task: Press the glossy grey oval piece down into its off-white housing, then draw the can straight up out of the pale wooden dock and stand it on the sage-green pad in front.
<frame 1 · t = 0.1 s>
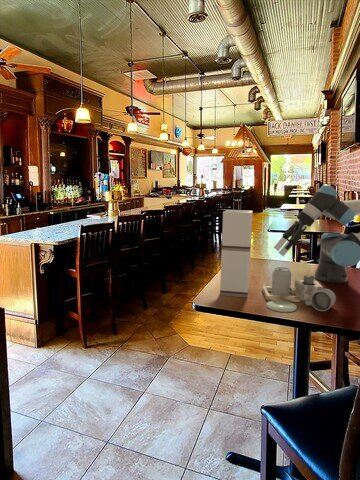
hand: (278, 251, 169), 15 cm above the table, tool tilted 35°, fingers open, 13 cm apart
can: (280, 296, 153), resting in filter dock
tall seamed white tower: (234, 292, 157), on the table
ceramic mug: (319, 308, 140), on the table
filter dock: (280, 296, 153), on the table
glossy grey oval piece: (308, 282, 151), point 7 cm above the table, slide at 0.0 cm
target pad: (281, 307, 140), on the table
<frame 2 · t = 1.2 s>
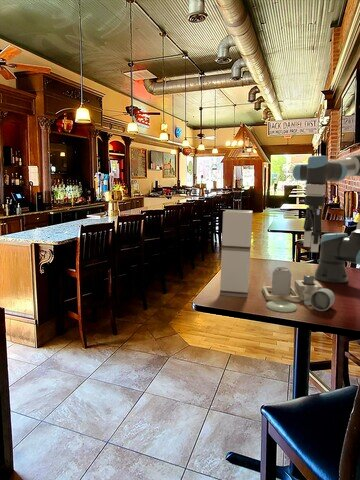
hand: (310, 249, 149), 20 cm above the table, tool pointing down, fingers open, 11 cm apart
nothing on the table moved.
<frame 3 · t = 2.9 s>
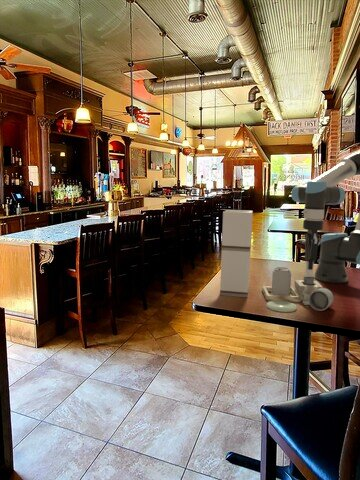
hand: (308, 276, 151), 9 cm above the table, tool pointing down, fingers closed
glossy grey oval piece: (308, 282, 151), point 6 cm above the table, slide at 0.3 cm, touching gripper
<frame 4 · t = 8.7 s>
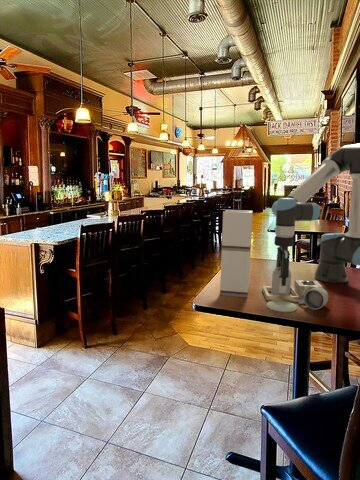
hand: (280, 289, 153), 3 cm above the table, tool pointing down, fingers closed on can, 7 cm apart
can: (280, 296, 153), resting in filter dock, touching gripper
ceramic mug: (312, 306, 142), on the table
glossy grey oval piece: (308, 287, 152), point 4 cm above the table, slide at 2.1 cm
everything else where it was.
when the fingers open (5 cm above the table, at t = 13.8 s): can drops 1 cm, resting on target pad.
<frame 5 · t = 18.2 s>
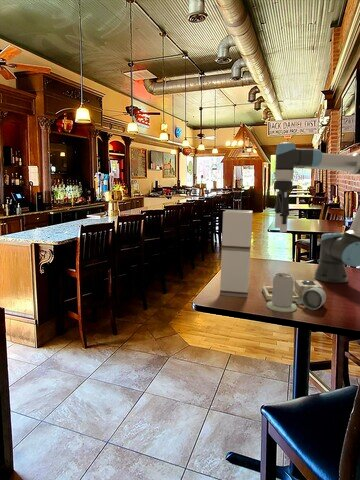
hand: (280, 229, 159), 27 cm above the table, tool pointing down, fingers open, 13 cm apart
can: (281, 305, 140), point 1 cm above the table, touching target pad
at the end: glossy grey oval piece slide at 2.1 cm; can 0.0 cm from the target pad (horizontally); can tilted 0° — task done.
